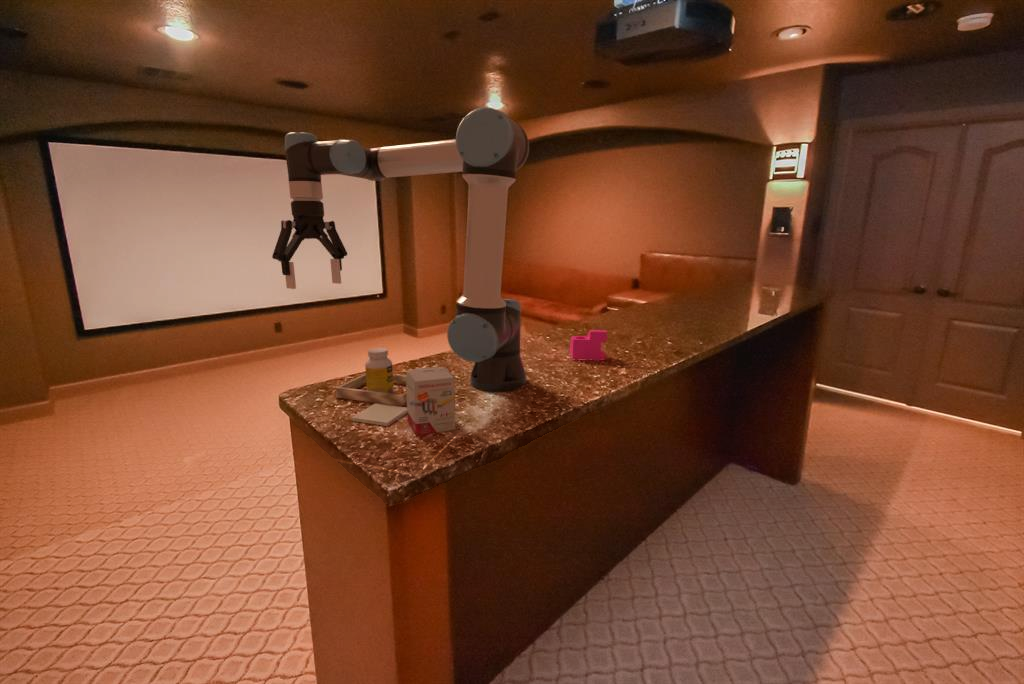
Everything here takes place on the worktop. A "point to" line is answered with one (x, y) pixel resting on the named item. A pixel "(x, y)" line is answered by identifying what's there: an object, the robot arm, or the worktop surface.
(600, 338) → the magenta stepped block
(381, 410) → the coaster
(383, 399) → the corral
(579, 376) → the worktop surface
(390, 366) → the pill bottle
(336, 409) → the worktop surface
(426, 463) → the worktop surface
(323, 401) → the worktop surface
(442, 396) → the ink box
